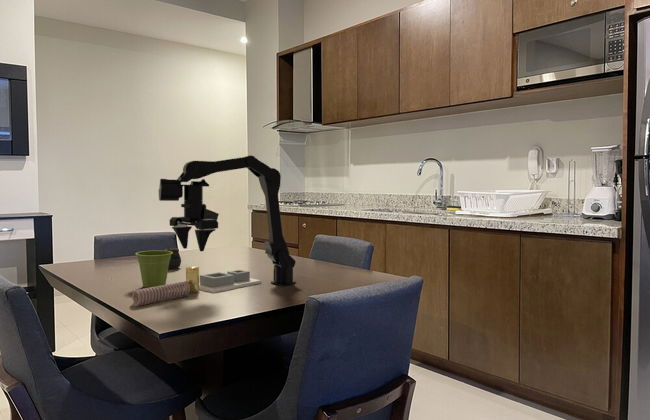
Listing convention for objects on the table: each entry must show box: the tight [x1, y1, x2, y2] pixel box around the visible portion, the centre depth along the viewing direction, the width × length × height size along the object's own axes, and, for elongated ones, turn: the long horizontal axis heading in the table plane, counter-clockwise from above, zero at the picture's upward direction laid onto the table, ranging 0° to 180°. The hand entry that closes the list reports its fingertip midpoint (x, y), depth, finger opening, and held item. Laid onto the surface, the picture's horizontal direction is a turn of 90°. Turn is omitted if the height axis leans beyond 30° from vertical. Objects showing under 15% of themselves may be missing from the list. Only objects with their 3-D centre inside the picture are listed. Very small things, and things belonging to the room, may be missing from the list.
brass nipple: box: [185, 265, 200, 295], centre depth 154 cm, size 4×4×8 cm
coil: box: [131, 280, 190, 307], centre depth 144 cm, size 5×5×18 cm
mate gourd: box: [164, 245, 182, 270], centre depth 198 cm, size 7×8×10 cm
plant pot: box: [135, 249, 173, 288], centre depth 164 cm, size 12×12×11 cm
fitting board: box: [199, 269, 262, 294], centre depth 165 cm, size 12×20×4 cm, turn 138°
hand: (193, 249), depth 155 cm, fingers open, 9 cm apart
